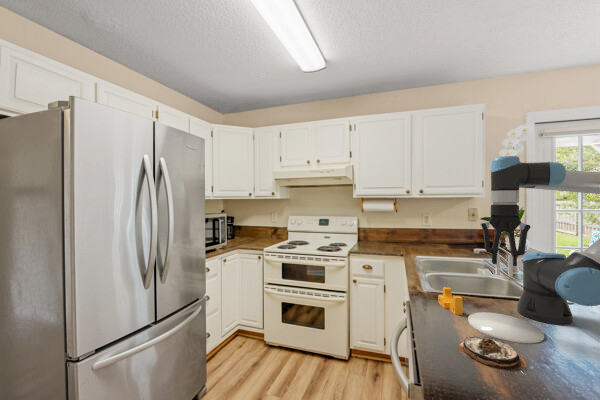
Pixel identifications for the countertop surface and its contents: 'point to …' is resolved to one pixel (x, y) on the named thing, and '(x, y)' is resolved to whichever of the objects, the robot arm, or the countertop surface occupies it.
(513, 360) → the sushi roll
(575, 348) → the countertop surface
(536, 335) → the plate
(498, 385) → the countertop surface
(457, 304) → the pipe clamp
